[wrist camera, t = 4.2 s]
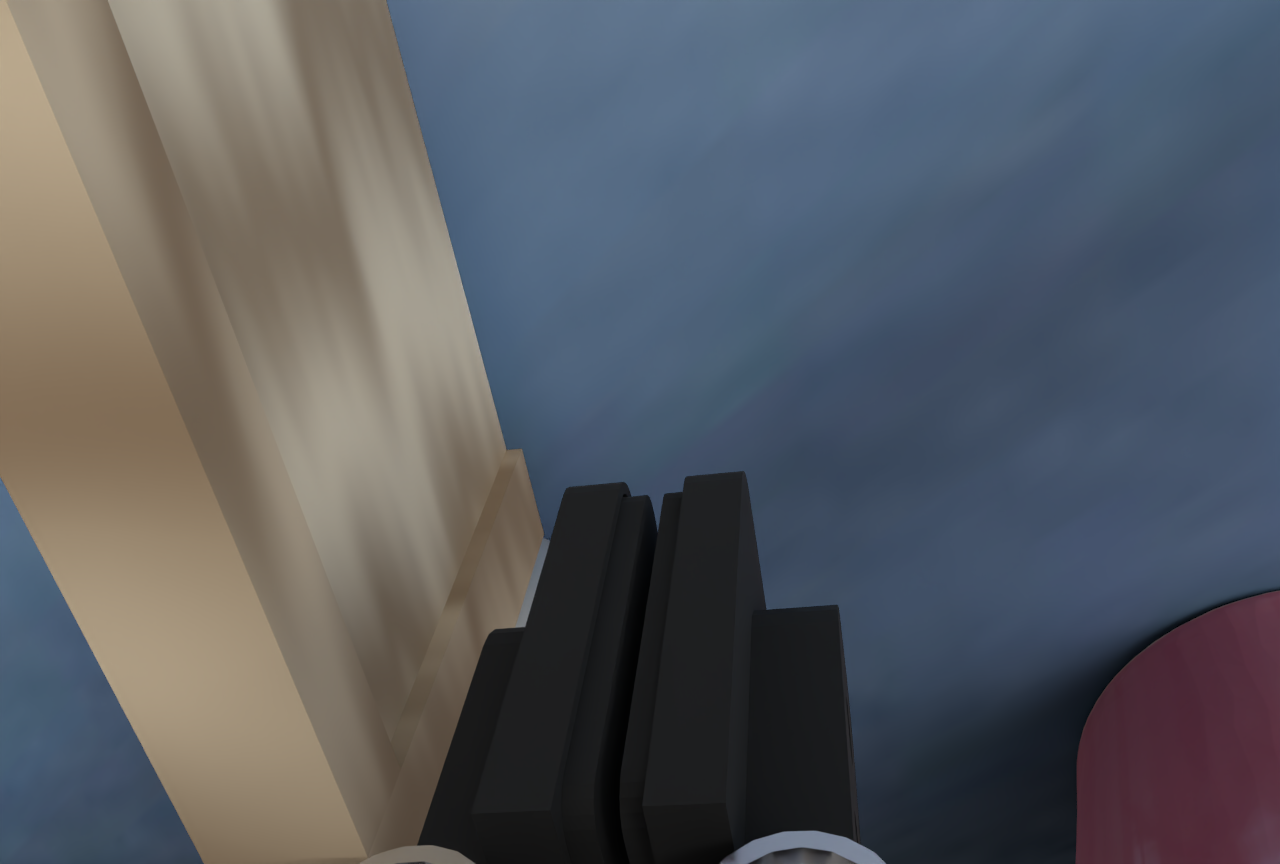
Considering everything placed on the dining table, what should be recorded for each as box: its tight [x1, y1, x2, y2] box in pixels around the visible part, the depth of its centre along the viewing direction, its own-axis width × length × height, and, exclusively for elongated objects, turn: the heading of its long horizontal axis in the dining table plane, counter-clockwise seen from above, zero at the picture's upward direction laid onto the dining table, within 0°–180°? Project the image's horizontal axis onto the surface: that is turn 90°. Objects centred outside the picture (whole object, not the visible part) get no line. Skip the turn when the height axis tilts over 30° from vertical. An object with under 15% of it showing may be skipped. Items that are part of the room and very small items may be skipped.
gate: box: [0, 0, 544, 864], centre depth 15 cm, size 18×2×9 cm, turn 10°
